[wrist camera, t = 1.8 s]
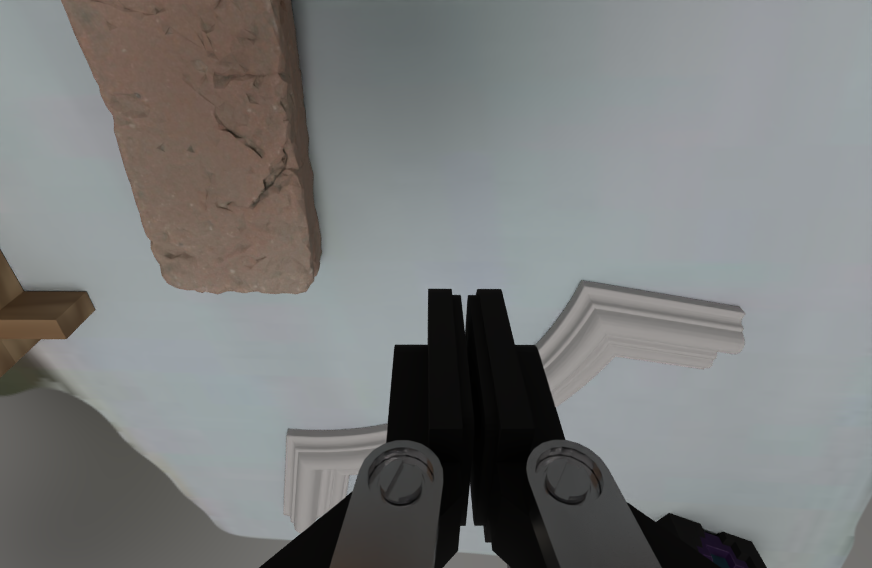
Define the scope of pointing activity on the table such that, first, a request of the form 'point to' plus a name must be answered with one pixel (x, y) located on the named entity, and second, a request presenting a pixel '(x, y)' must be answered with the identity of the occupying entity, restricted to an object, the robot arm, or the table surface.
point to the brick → (210, 136)
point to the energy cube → (714, 544)
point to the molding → (564, 367)
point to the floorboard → (35, 316)
